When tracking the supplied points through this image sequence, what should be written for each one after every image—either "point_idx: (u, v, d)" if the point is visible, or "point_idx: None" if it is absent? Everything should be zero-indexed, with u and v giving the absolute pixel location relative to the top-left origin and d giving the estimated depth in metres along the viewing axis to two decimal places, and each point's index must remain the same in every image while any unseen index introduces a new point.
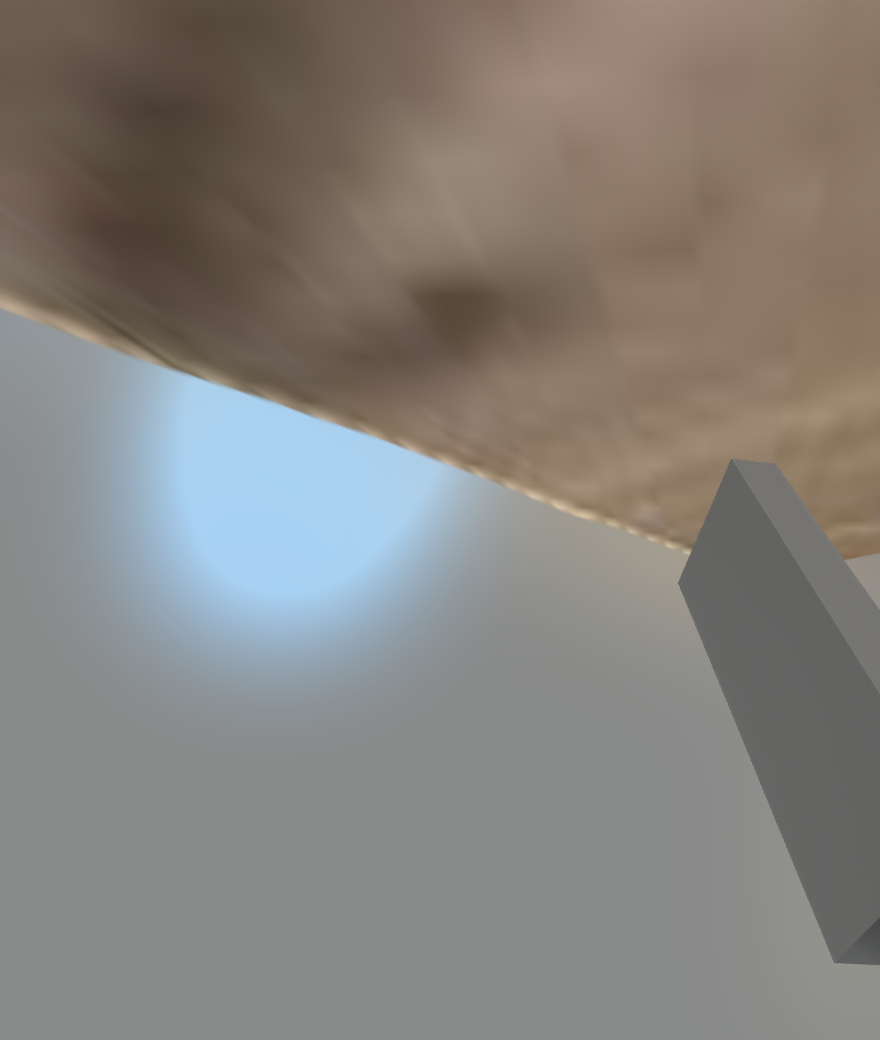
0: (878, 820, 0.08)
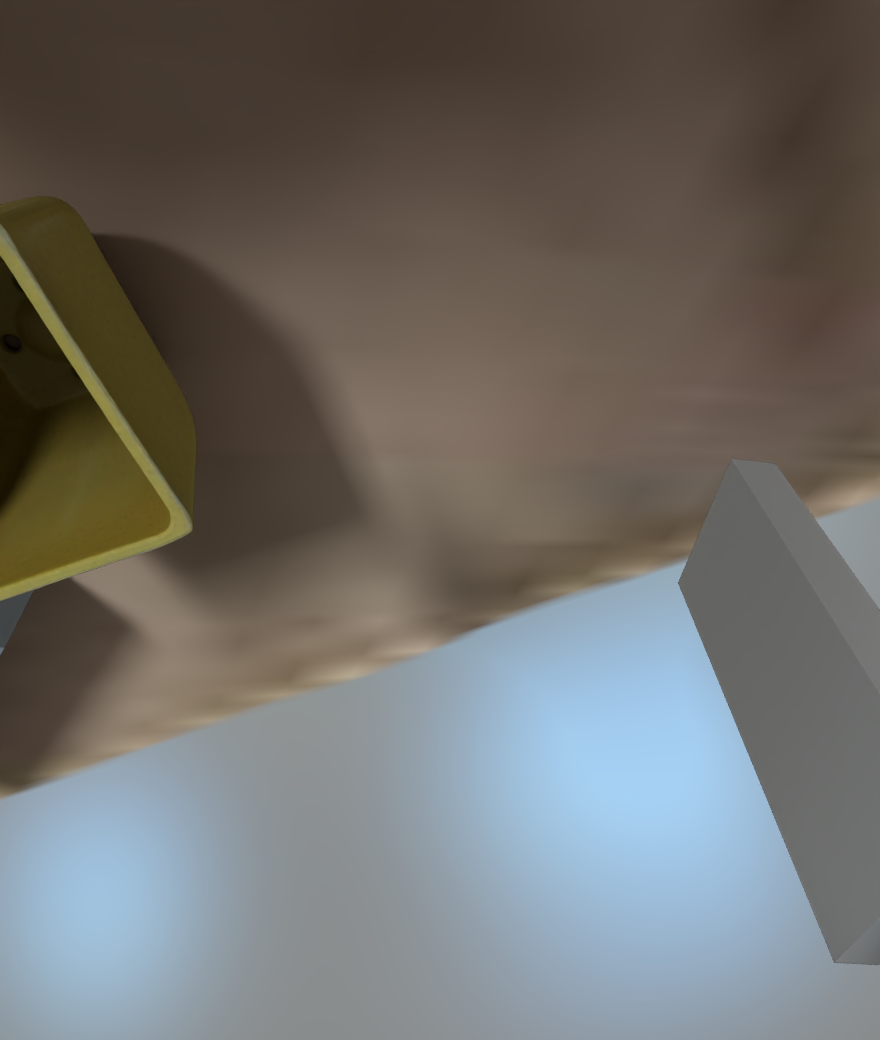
0: (878, 820, 0.08)
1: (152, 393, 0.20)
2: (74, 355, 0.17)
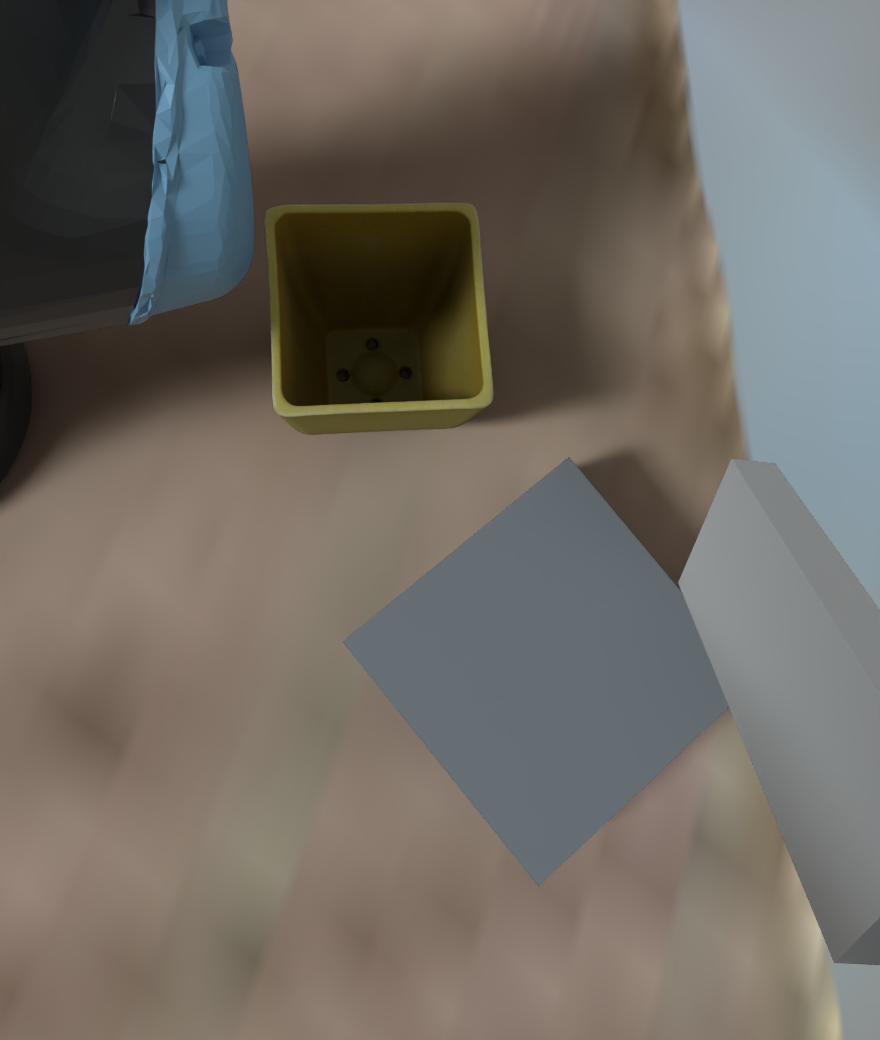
0: (878, 820, 0.08)
1: None
2: (345, 206, 0.30)
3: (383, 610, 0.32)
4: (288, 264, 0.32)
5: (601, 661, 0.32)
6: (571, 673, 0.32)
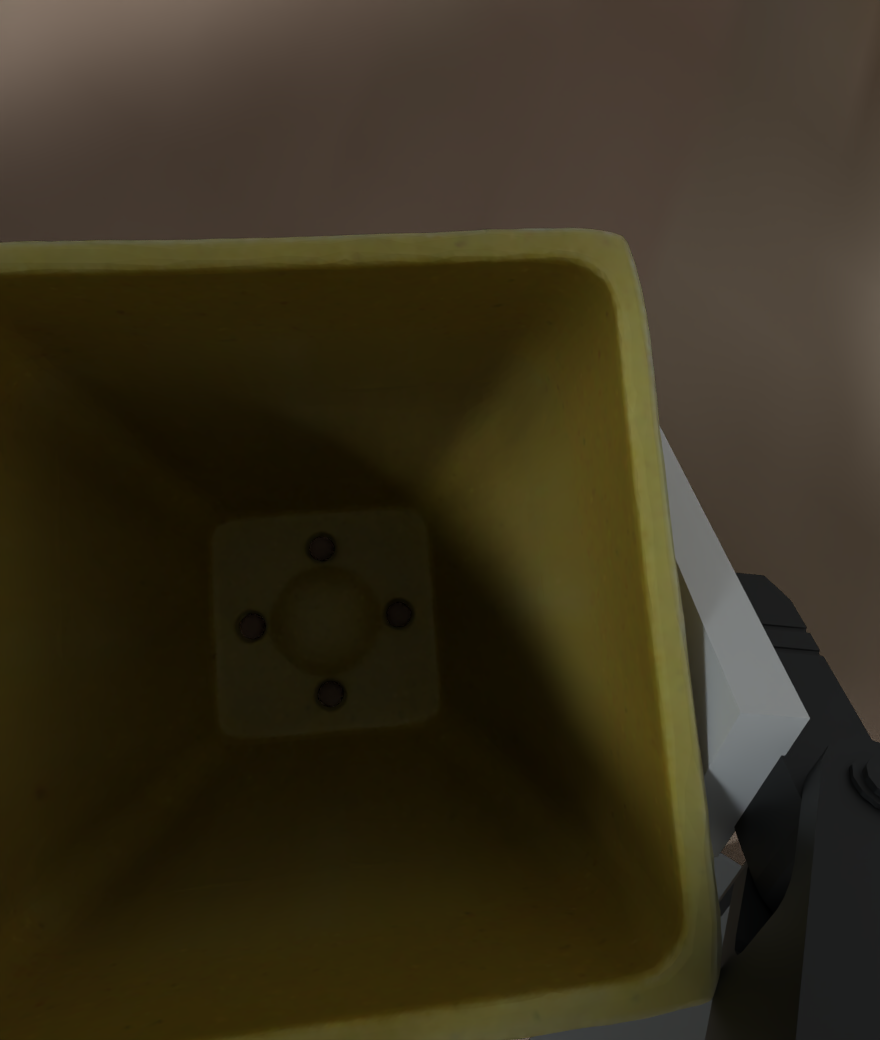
0: None
1: None
2: (167, 248, 0.08)
3: None
4: (43, 412, 0.11)
5: None
6: None
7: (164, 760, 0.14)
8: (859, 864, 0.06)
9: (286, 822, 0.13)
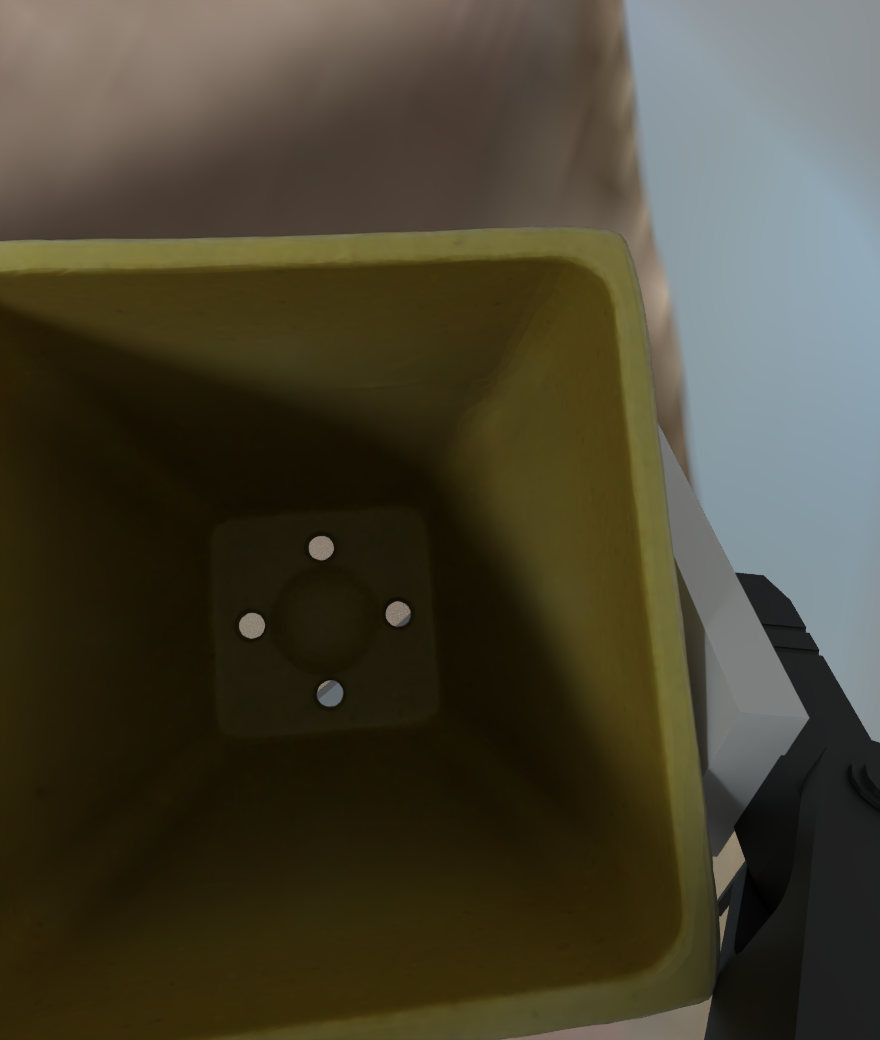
0: None
1: None
2: (166, 247, 0.08)
3: None
4: (42, 411, 0.11)
5: None
6: None
7: (163, 759, 0.14)
8: (858, 864, 0.06)
9: (285, 821, 0.13)
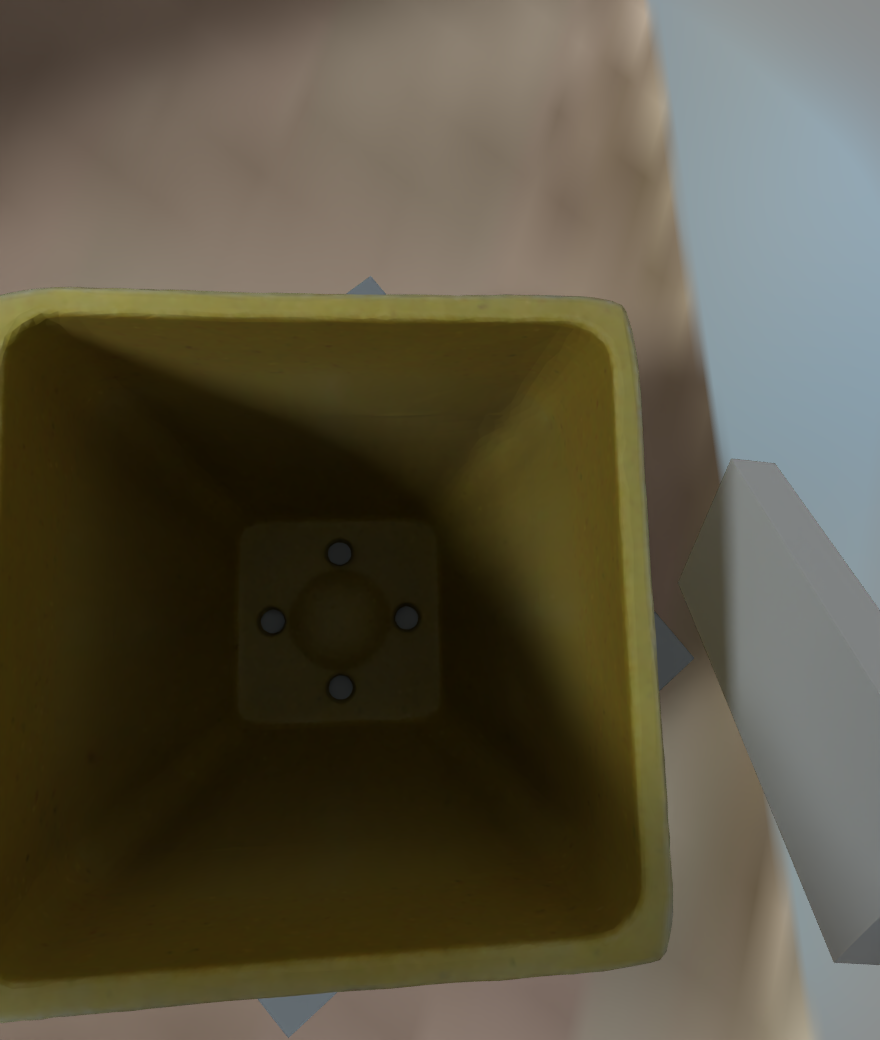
0: (878, 820, 0.08)
1: None
2: (235, 300, 0.10)
3: None
4: (108, 424, 0.12)
5: None
6: None
7: (189, 738, 0.15)
8: None
9: (298, 799, 0.14)
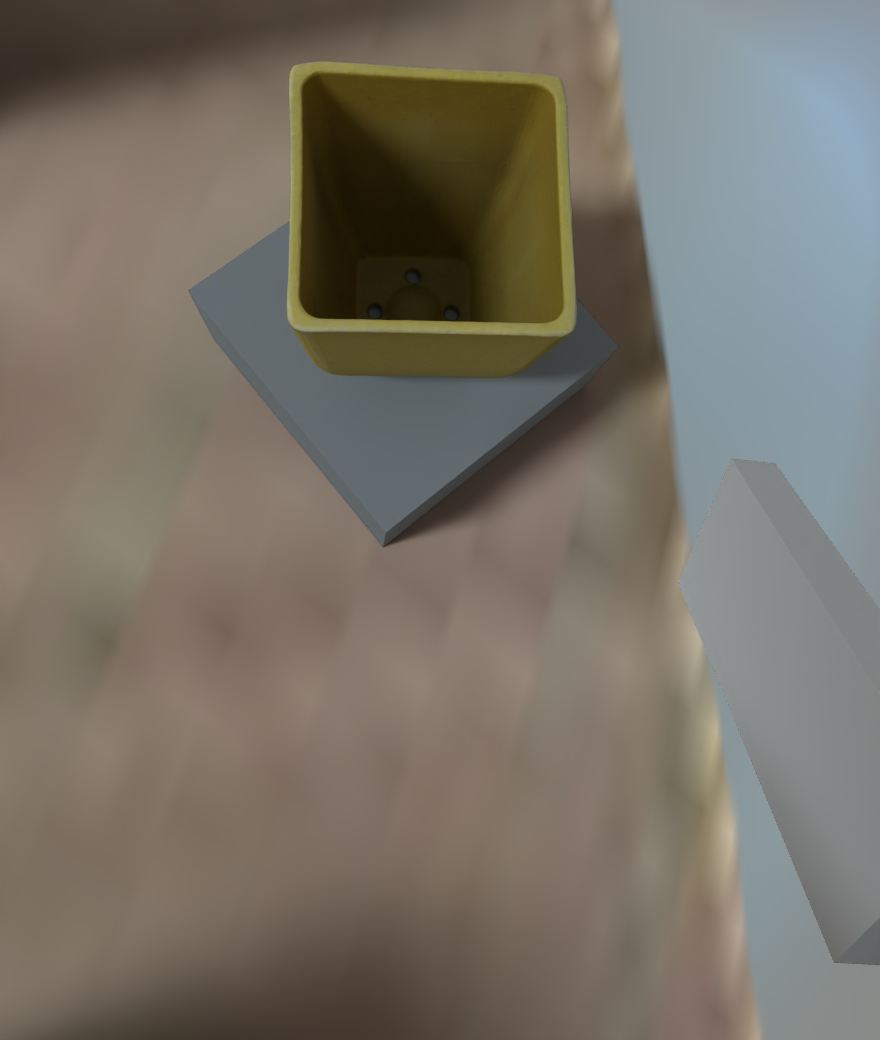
0: (878, 820, 0.08)
1: None
2: (395, 68, 0.23)
3: (231, 262, 0.31)
4: (317, 153, 0.26)
5: None
6: None
7: None
8: None
9: None
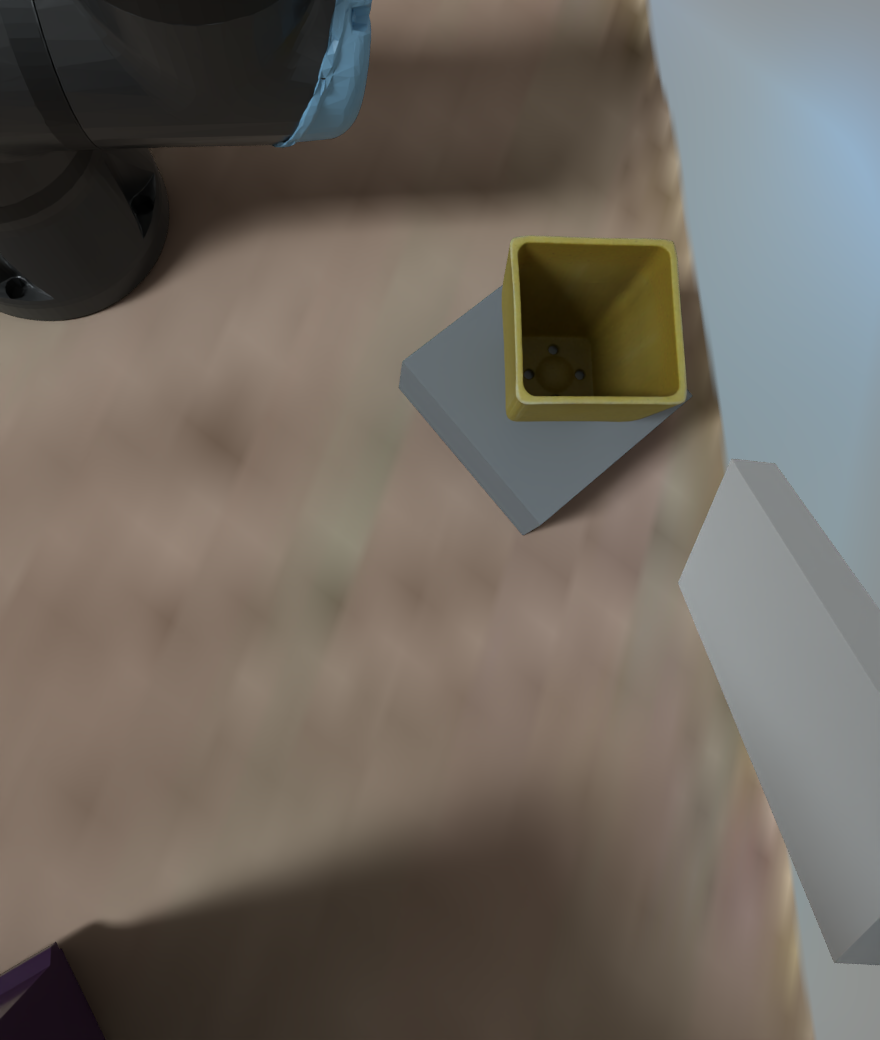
0: (878, 820, 0.08)
1: None
2: (573, 239, 0.37)
3: (430, 341, 0.45)
4: None
5: None
6: None
7: None
8: None
9: None
